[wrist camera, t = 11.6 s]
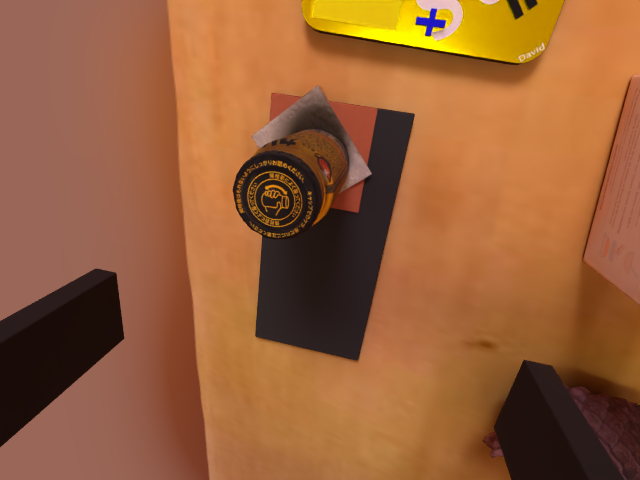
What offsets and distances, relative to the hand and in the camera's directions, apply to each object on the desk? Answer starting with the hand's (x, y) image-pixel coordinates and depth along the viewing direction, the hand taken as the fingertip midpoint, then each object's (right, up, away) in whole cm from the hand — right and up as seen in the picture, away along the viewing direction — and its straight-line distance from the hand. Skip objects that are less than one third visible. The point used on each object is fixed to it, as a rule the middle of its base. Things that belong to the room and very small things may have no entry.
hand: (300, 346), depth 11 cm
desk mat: (+1, +3, +23) cm, 23 cm away
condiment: (0, +11, +19) cm, 22 cm away
